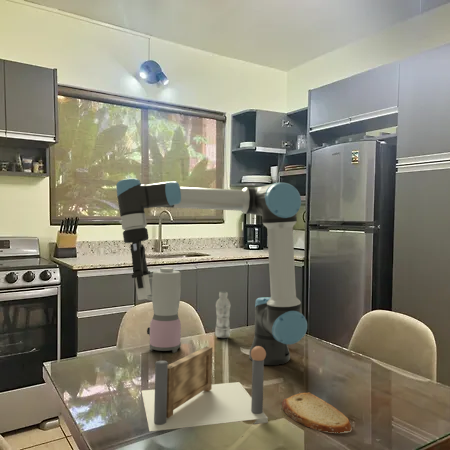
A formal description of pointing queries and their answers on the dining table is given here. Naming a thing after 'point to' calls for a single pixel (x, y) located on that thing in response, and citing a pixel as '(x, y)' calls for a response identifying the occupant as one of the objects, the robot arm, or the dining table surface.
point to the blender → (165, 310)
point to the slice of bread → (315, 413)
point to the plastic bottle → (222, 316)
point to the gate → (188, 378)
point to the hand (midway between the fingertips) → (145, 297)
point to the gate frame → (208, 401)
